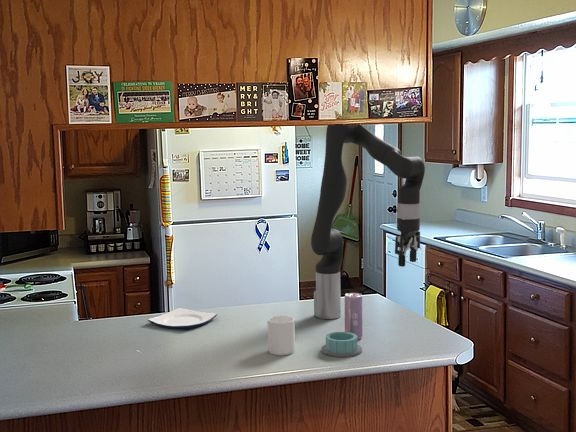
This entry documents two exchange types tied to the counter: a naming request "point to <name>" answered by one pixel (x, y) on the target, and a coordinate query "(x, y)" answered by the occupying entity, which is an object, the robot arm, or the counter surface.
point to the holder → (341, 345)
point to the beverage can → (353, 314)
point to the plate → (182, 319)
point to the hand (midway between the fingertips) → (407, 264)
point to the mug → (281, 335)
